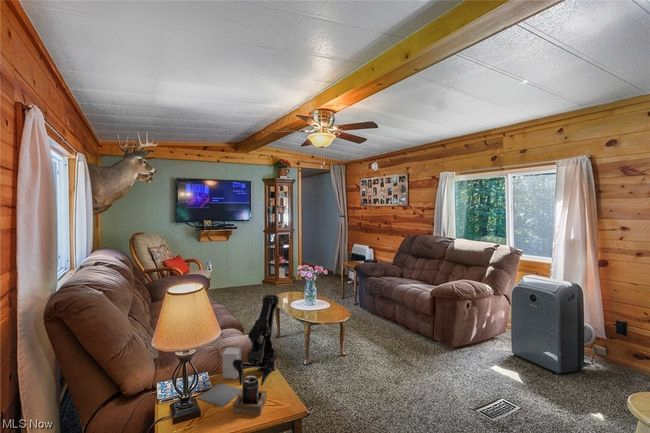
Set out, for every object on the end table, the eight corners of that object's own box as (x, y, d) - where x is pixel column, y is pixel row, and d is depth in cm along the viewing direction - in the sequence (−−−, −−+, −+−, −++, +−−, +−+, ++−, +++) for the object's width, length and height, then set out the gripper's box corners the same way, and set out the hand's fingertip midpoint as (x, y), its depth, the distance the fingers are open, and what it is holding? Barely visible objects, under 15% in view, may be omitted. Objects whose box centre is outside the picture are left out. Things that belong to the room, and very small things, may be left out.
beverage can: (261, 404, 149) (261, 377, 149) (250, 412, 143) (250, 384, 143) (249, 399, 153) (250, 373, 152) (238, 407, 147) (238, 380, 146)
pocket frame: (241, 397, 154) (241, 390, 154) (266, 398, 154) (266, 391, 153) (233, 413, 143) (233, 405, 142) (260, 414, 142) (260, 406, 142)
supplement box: (241, 371, 177) (241, 348, 176) (236, 379, 169) (236, 354, 169) (227, 370, 178) (227, 347, 177) (222, 378, 170) (222, 353, 169)
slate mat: (219, 383, 165) (219, 382, 165) (243, 390, 159) (243, 389, 159) (198, 398, 153) (198, 397, 153) (222, 407, 147) (222, 406, 147)
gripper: (233, 341, 154) (225, 378, 143) (275, 343, 153) (269, 380, 142) (238, 351, 162) (231, 386, 151) (277, 352, 161) (273, 388, 150)
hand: (250, 385), depth 149 cm, fingers open, 9 cm apart
